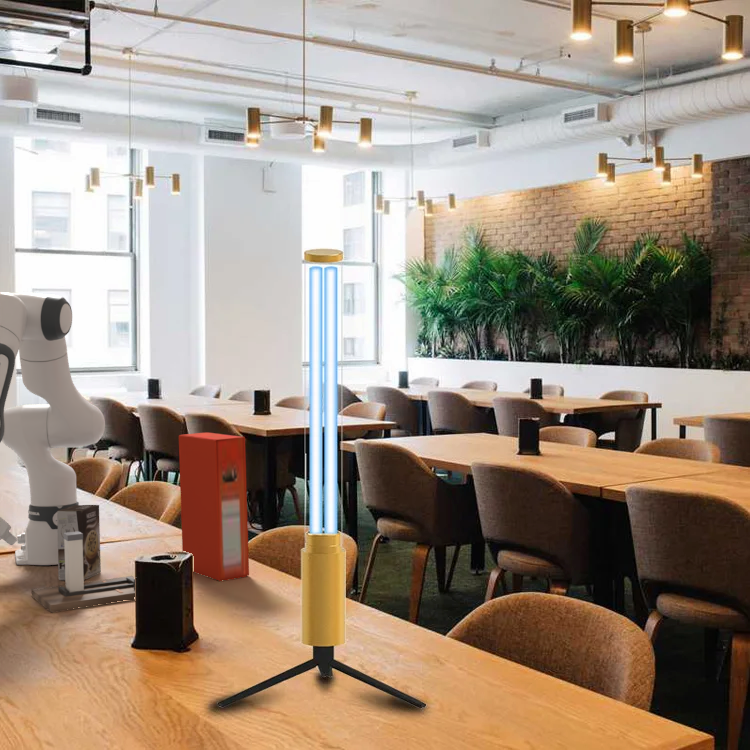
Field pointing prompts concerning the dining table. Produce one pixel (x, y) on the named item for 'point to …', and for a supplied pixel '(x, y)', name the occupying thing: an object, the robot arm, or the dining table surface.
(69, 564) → the fader tab
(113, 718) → the dining table surface
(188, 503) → the file binder
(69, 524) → the coffee box
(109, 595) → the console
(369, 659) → the dining table surface
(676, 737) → the dining table surface
